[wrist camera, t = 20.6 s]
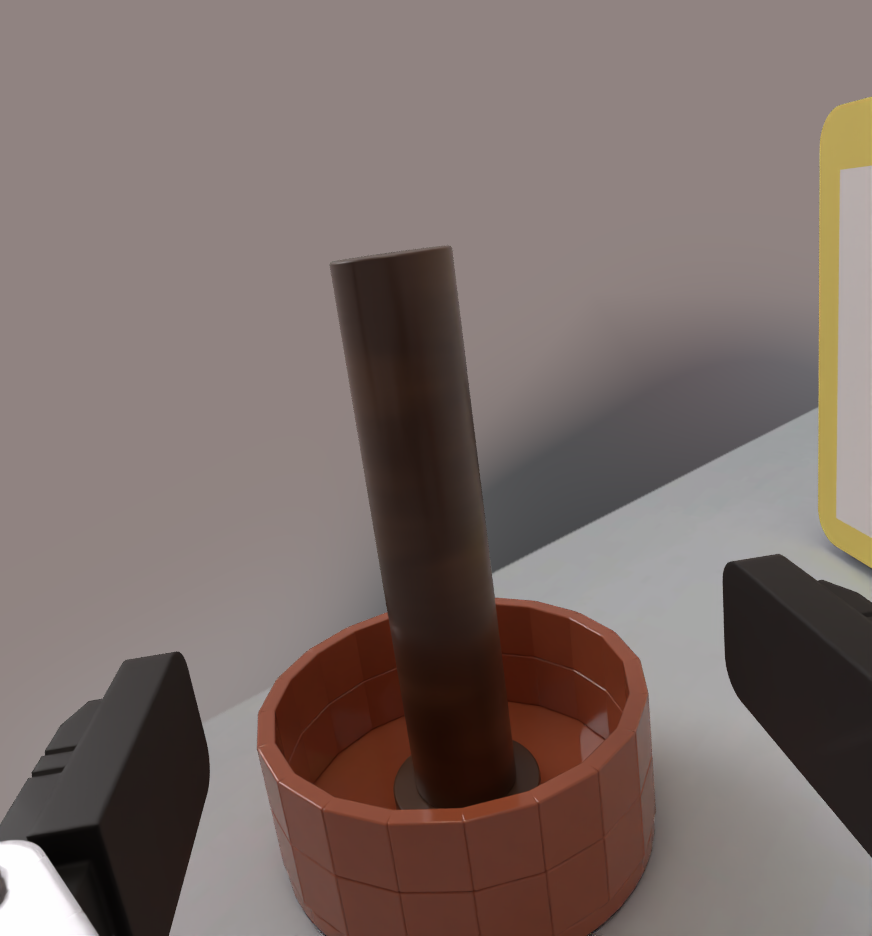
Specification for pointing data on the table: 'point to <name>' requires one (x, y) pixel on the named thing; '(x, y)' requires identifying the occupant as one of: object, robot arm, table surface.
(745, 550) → the table surface
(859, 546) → the tablet
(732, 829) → the table surface
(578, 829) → the bowl
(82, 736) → the robot arm
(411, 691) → the brown tall cylinder
